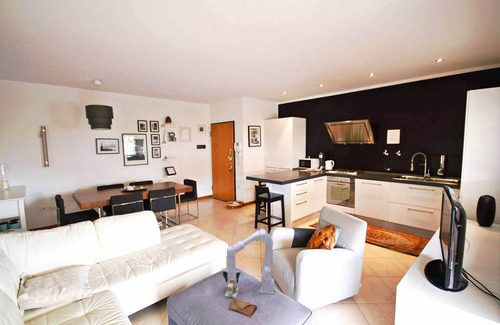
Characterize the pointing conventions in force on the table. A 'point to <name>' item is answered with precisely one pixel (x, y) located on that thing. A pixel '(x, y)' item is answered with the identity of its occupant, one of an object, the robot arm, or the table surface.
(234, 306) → the sunglasses case
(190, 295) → the table surface
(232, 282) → the beige piece
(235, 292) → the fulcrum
